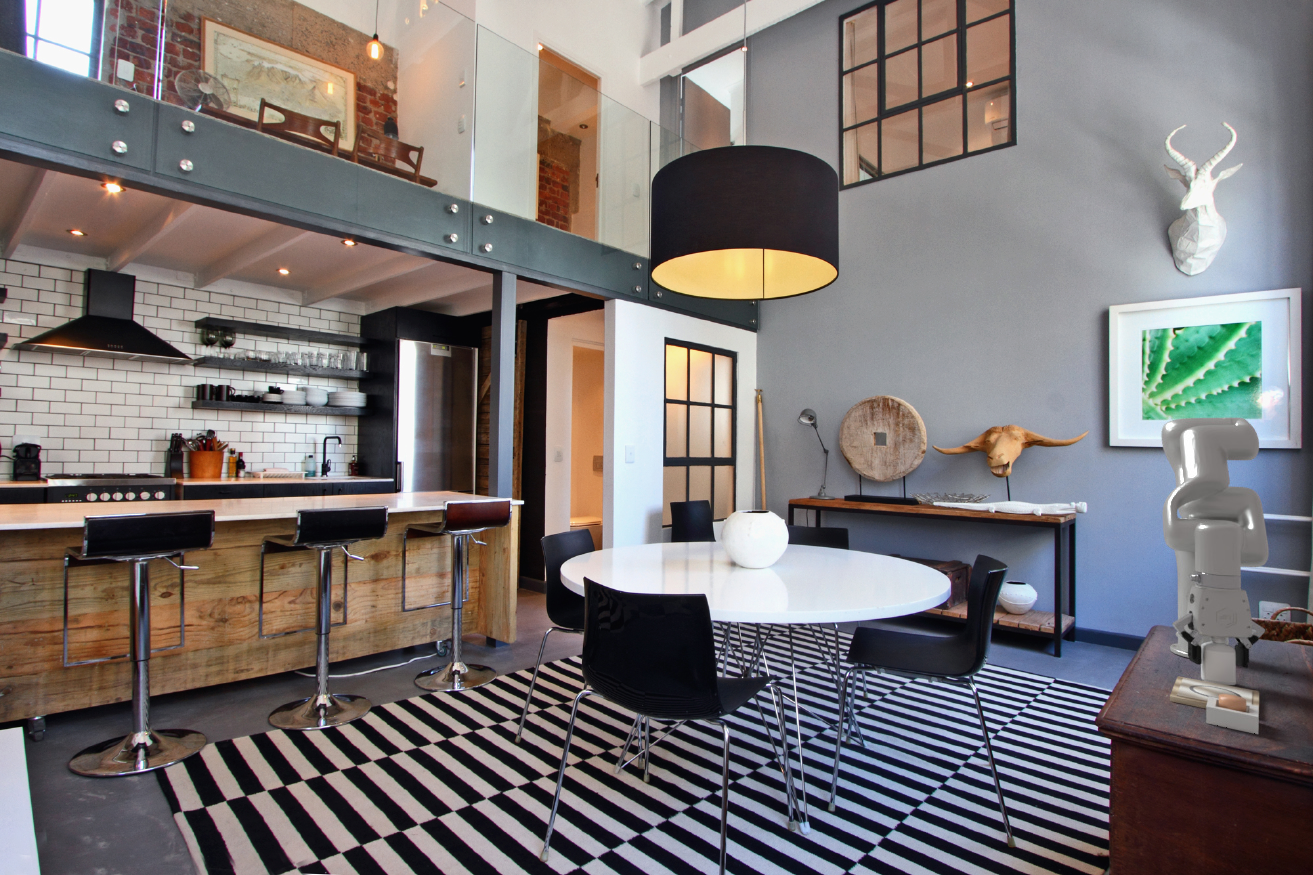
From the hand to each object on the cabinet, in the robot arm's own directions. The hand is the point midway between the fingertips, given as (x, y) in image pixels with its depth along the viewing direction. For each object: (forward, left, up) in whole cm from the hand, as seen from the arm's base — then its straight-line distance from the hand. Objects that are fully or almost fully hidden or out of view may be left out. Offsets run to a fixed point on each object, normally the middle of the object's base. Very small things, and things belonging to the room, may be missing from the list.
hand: (1218, 663), depth 144 cm
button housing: (+24, -11, -4) cm, 27 cm away
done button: (+24, -11, -2) cm, 27 cm away
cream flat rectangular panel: (+11, -6, -4) cm, 14 cm away
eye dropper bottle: (0, 0, -4) cm, 4 cm away
